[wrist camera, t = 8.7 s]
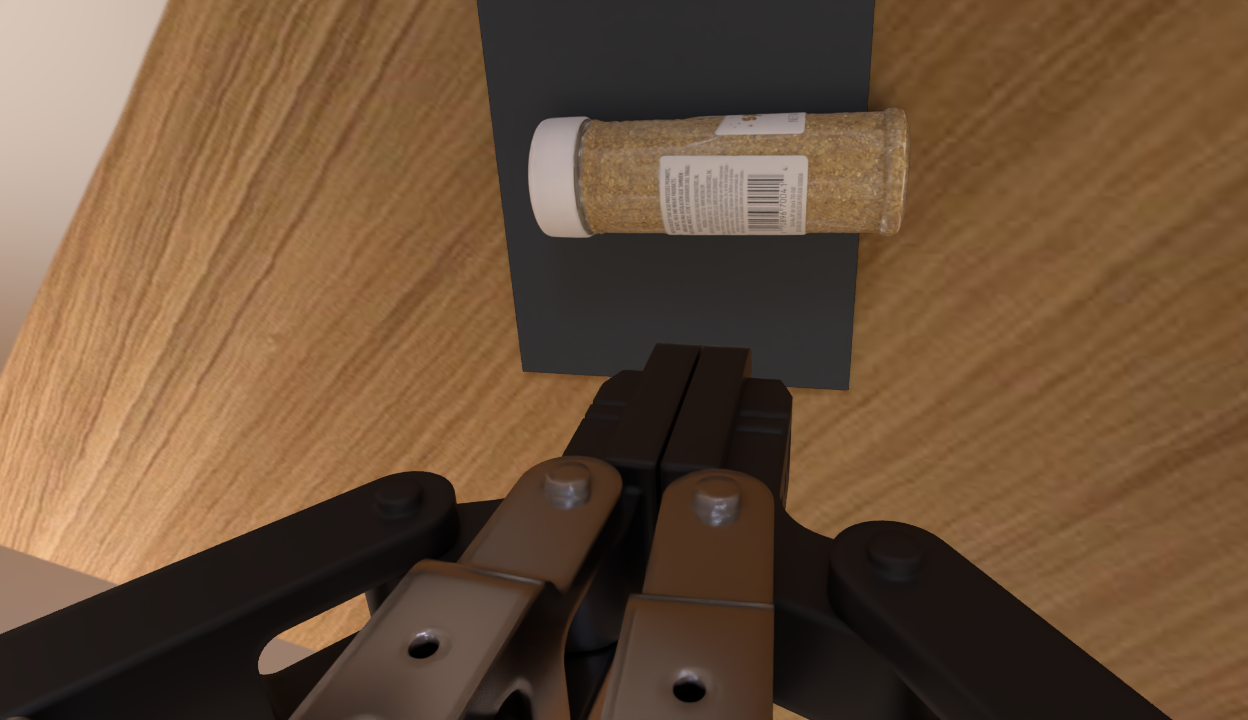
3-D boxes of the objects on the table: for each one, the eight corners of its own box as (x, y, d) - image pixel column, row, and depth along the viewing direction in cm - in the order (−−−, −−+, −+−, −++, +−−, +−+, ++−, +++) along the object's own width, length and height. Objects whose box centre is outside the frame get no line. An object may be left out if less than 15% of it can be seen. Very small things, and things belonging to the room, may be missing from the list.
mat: (466, -109, 31) (462, -110, 31) (884, -147, 27) (884, -148, 27) (525, 368, 40) (522, 371, 39) (848, 386, 36) (848, 390, 36)
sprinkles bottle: (910, 78, 28) (538, 91, 31) (913, 184, 26) (514, 188, 29) (896, 166, 32) (567, 170, 35) (897, 264, 30) (549, 260, 33)
